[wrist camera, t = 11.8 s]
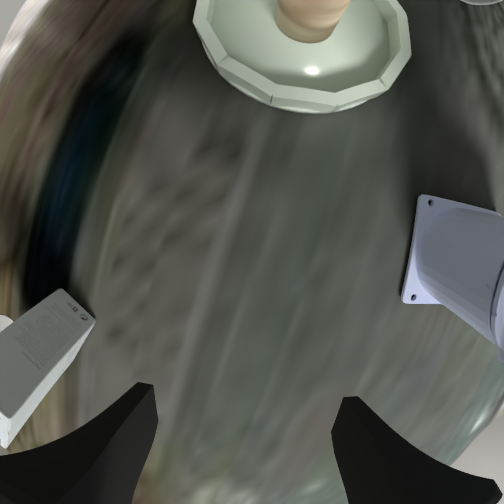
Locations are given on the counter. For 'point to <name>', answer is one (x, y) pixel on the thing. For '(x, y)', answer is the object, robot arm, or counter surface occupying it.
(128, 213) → the counter surface
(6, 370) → the skincare box
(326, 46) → the round tray
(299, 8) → the maple cylinder
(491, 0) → the ceramic mug
